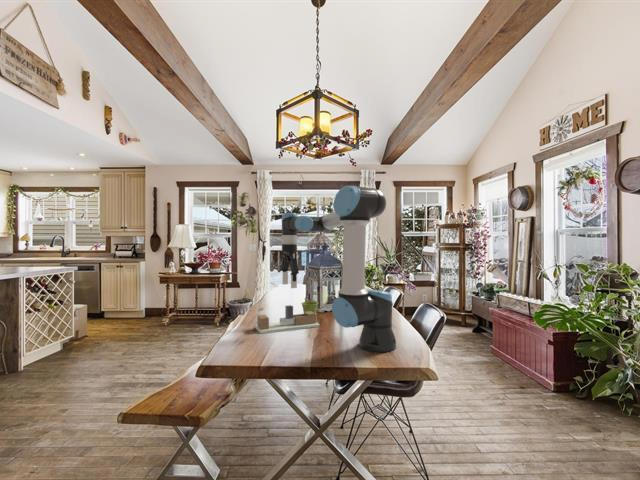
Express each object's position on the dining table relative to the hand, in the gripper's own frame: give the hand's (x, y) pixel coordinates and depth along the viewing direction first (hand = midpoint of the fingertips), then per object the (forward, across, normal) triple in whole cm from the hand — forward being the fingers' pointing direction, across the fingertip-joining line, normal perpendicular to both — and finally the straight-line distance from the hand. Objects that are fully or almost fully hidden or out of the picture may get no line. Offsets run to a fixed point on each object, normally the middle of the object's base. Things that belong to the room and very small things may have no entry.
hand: (289, 286), depth 171 cm
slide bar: (+19, 0, -4) cm, 19 cm away
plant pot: (+21, +12, -16) cm, 29 cm away
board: (+20, 0, +1) cm, 21 cm away
